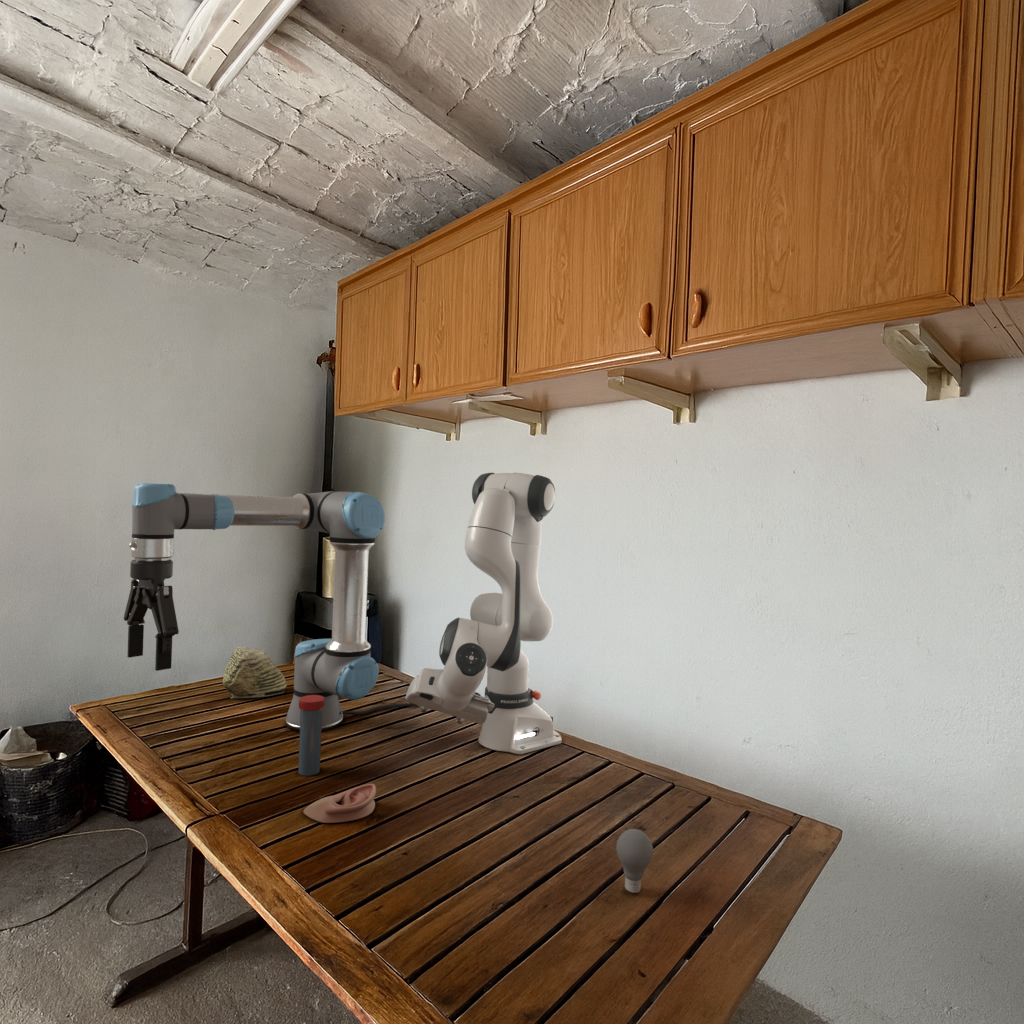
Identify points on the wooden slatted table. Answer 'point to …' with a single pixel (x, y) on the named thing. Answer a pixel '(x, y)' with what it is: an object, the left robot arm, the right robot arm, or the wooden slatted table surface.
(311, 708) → the lid
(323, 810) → the anatomical model
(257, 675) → the fossil
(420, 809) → the wooden slatted table surface
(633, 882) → the light bulb
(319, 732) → the blue grey capped cylinder
